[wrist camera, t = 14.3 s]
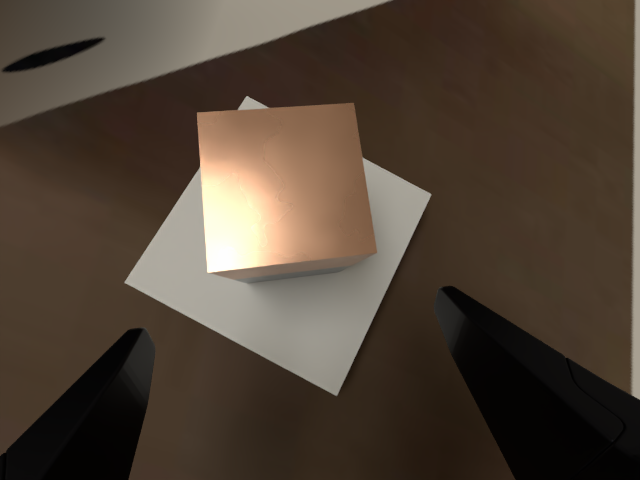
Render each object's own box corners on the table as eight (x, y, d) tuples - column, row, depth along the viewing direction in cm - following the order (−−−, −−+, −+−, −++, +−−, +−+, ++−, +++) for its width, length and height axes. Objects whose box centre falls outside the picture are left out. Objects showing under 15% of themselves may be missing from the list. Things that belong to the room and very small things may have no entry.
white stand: (414, 206, 24) (431, 194, 21) (330, 382, 21) (336, 396, 18) (252, 120, 24) (246, 96, 21) (147, 284, 21) (124, 282, 18)
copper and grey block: (338, 272, 19) (377, 252, 11) (246, 283, 19) (207, 272, 10) (326, 186, 20) (353, 103, 12) (239, 194, 20) (196, 112, 11)
